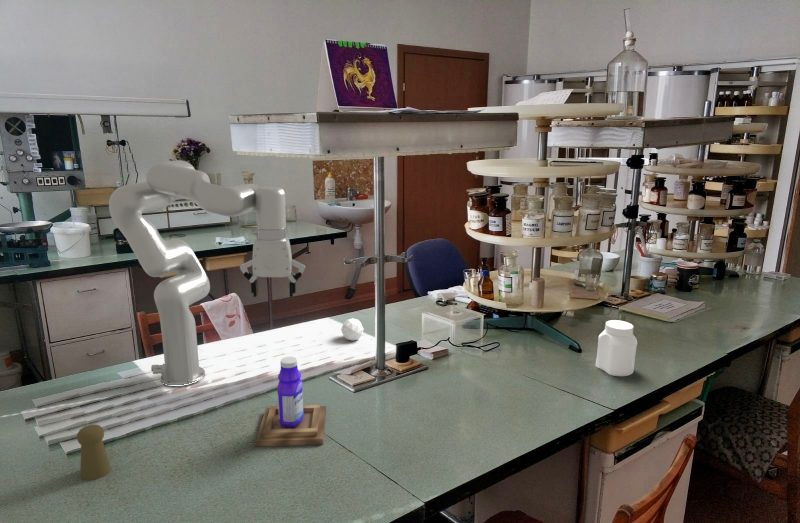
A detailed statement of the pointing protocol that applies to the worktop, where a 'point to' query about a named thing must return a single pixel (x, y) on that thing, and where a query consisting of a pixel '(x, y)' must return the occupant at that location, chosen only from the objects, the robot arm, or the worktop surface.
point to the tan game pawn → (93, 453)
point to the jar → (617, 348)
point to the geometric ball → (352, 329)
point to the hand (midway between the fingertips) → (273, 295)
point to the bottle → (290, 393)
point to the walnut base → (299, 435)
